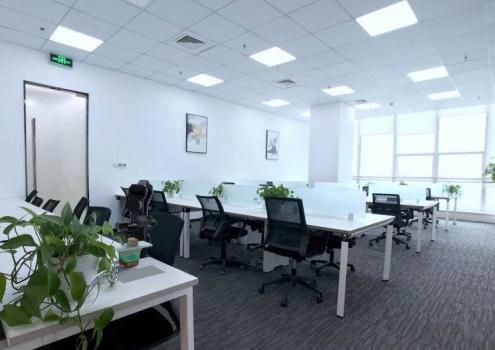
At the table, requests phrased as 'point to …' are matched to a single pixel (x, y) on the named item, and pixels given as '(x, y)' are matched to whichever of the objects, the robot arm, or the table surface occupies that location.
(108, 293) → the table surface
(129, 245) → the lid
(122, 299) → the table surface
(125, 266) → the food container
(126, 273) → the mat
